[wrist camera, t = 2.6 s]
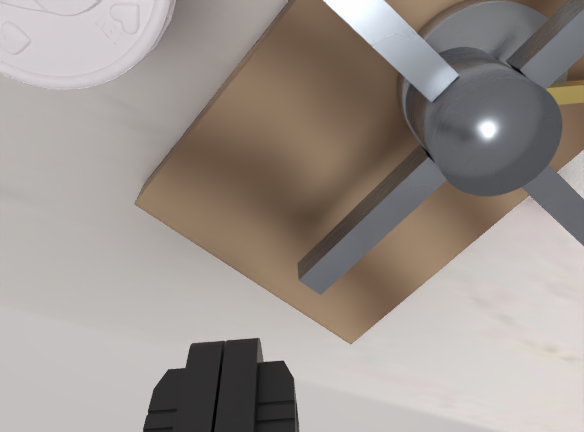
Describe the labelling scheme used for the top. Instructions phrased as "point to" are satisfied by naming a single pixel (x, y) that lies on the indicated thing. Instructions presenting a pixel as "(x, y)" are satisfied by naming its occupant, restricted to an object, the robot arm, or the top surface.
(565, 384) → the top surface
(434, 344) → the top surface
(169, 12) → the smoothie
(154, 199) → the board
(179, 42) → the top surface
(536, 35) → the capstan
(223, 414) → the robot arm
